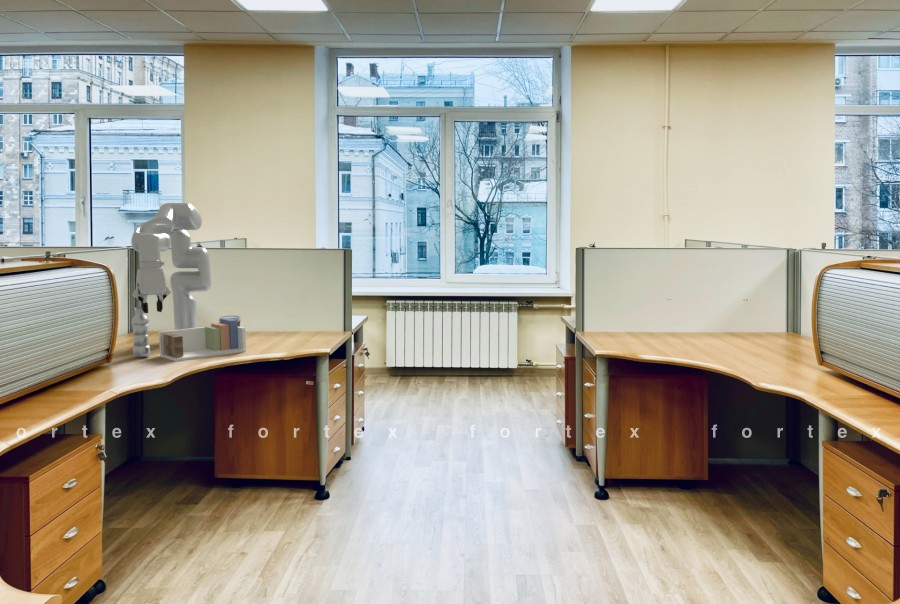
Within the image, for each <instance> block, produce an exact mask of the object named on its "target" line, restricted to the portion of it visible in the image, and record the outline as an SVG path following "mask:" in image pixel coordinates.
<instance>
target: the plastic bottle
mask: <svg viewBox="0 0 900 604" xmlns="http://www.w3.org/2000/svg"><path fill="white" fill-rule="evenodd" d="M134 313H135V314H134V315H133V316H132V319H131V326H132V330H133V331H132V332H133V347H132V354H133V356H134V357H135V358H146V357H149V356H150V354H151V346H150V341H149V325H150V320H149V318H148V317H147V315H146V313H144V312H143V311H142V307H134Z"/></svg>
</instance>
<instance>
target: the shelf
mask: <svg viewBox="0 0 900 604" xmlns="http://www.w3.org/2000/svg"><path fill="white" fill-rule="evenodd" d="M219 320H220V321H219V322H212V323H210V325H209V326H202V327H197V328H190V329H181V330H175V329H173V330H163V331H158V344H159V357H160V358H163V359H167V360H170V361H173V362H182V361H187V360H188V361H190V360H195V359H202V358H209V357H210V358H211V357H216V356H223V355H232V354H239V353H245V352H247V349H246V348H247V347H246V346H247V345H246V344H247V343H246V341H247V340H246V327H243V326H240V327H238V322H237V320H234V319H229V318H221V319H220V318H219ZM168 333H172V334H176V335H180V336H182V337H183V356H182V357H173V356H170V355H167V354H165V353H164V334H168Z"/></svg>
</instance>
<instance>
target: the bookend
mask: <svg viewBox="0 0 900 604" xmlns="http://www.w3.org/2000/svg"><path fill="white" fill-rule="evenodd" d="M164 353H165V354H167V355H170V356H173V357H182V356H183V337H182V336H180V335H176V334H172V333H168V334H164Z"/></svg>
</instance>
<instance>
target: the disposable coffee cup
mask: <svg viewBox="0 0 900 604" xmlns="http://www.w3.org/2000/svg"><path fill="white" fill-rule="evenodd" d="M221 318H229V319H234V320H237V322H238V327H241V321H242V318H241V315H223V316H219V320H218V321H219V322H220V319H221Z"/></svg>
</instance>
